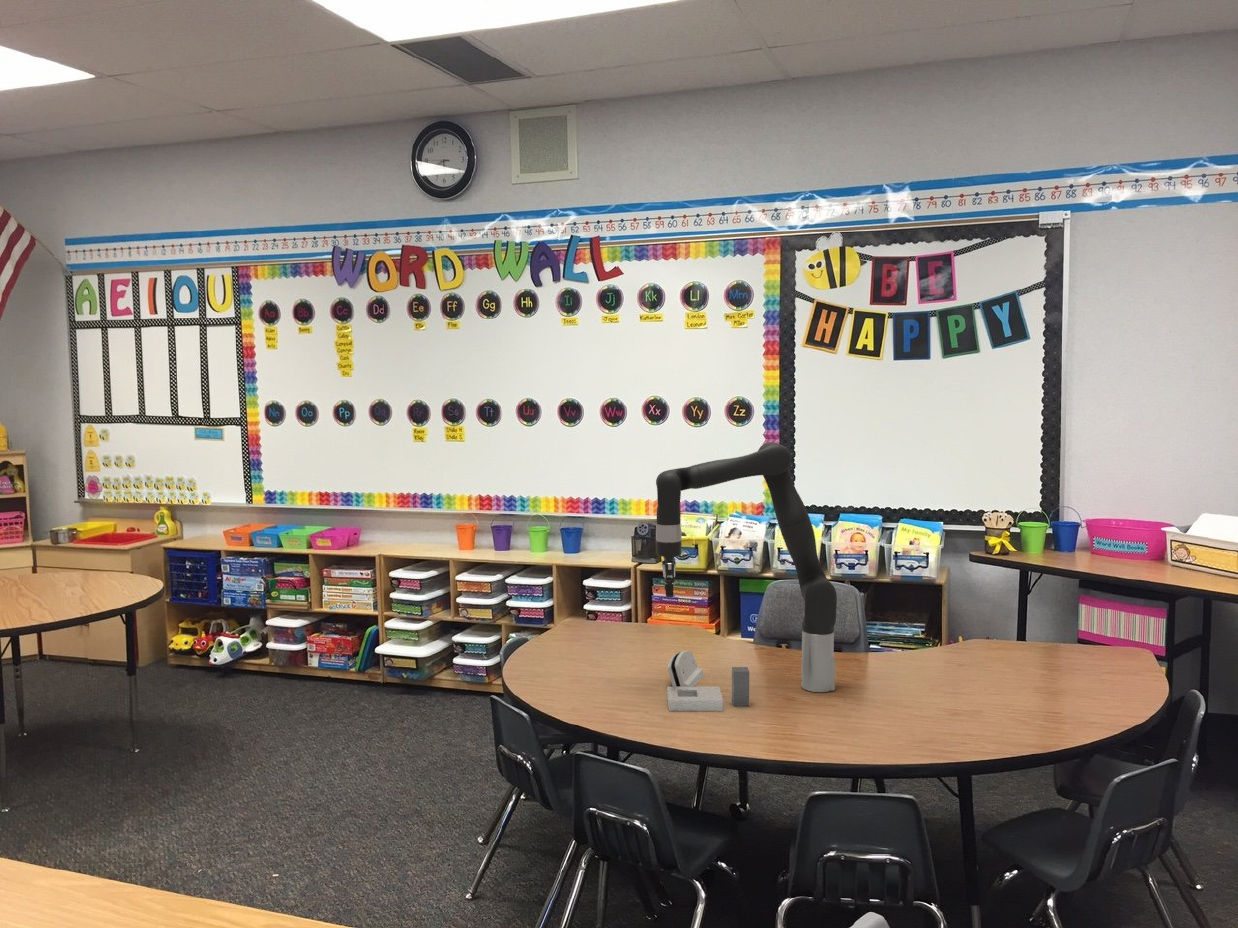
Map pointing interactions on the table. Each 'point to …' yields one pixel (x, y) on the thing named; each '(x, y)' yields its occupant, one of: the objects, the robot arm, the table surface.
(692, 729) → the table surface
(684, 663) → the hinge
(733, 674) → the square peg
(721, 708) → the square hole plate
